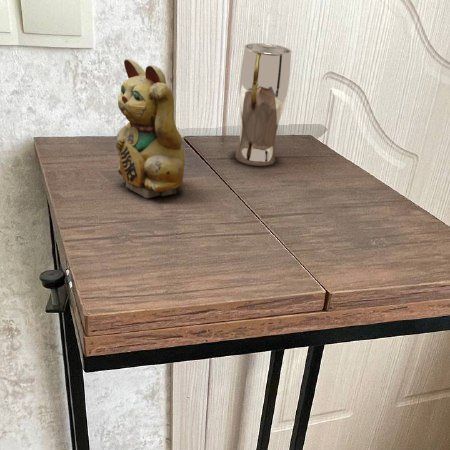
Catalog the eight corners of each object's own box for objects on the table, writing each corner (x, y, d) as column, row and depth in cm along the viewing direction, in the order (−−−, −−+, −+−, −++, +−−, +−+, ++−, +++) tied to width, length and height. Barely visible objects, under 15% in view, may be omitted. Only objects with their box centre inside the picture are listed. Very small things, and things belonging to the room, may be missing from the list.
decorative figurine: (105, 182, 83) (101, 55, 73) (151, 170, 88) (153, 49, 78) (155, 206, 78) (157, 74, 69) (201, 192, 83) (209, 67, 74)
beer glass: (286, 160, 96) (302, 50, 87) (263, 171, 91) (277, 56, 82) (247, 148, 99) (259, 40, 89) (223, 158, 94) (233, 46, 85)
